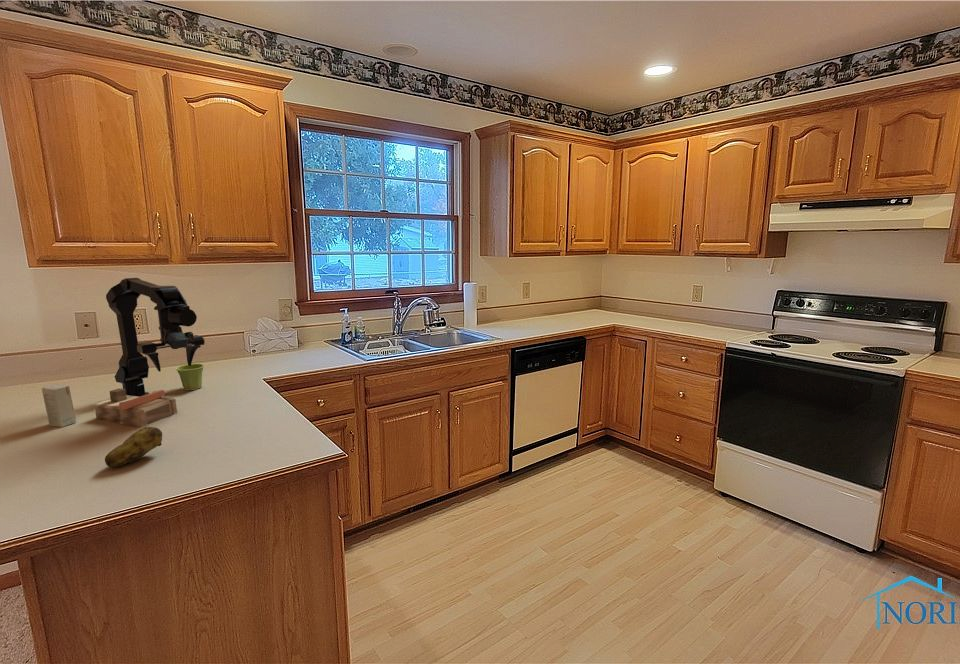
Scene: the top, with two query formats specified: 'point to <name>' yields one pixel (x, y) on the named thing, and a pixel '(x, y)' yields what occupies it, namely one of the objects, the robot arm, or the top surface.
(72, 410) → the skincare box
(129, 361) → the robot arm
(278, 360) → the top surface
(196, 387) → the plant pot
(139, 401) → the bar
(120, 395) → the lid
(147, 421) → the toolbox
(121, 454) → the potato
